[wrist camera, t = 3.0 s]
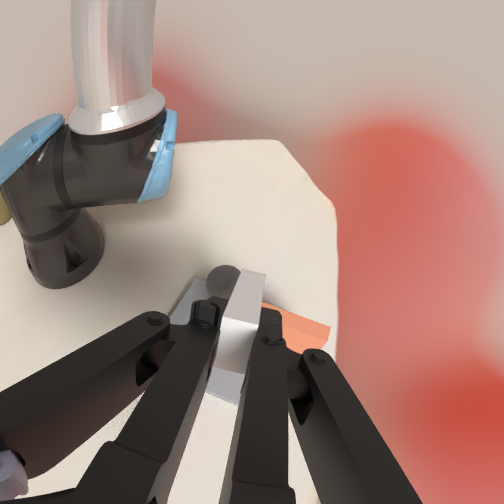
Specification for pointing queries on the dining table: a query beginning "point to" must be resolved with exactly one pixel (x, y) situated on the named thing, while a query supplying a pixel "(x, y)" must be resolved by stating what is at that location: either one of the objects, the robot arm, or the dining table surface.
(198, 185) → the dining table surface
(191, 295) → the grey flat block
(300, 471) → the dining table surface
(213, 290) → the lever
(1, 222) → the squeeze bottle
